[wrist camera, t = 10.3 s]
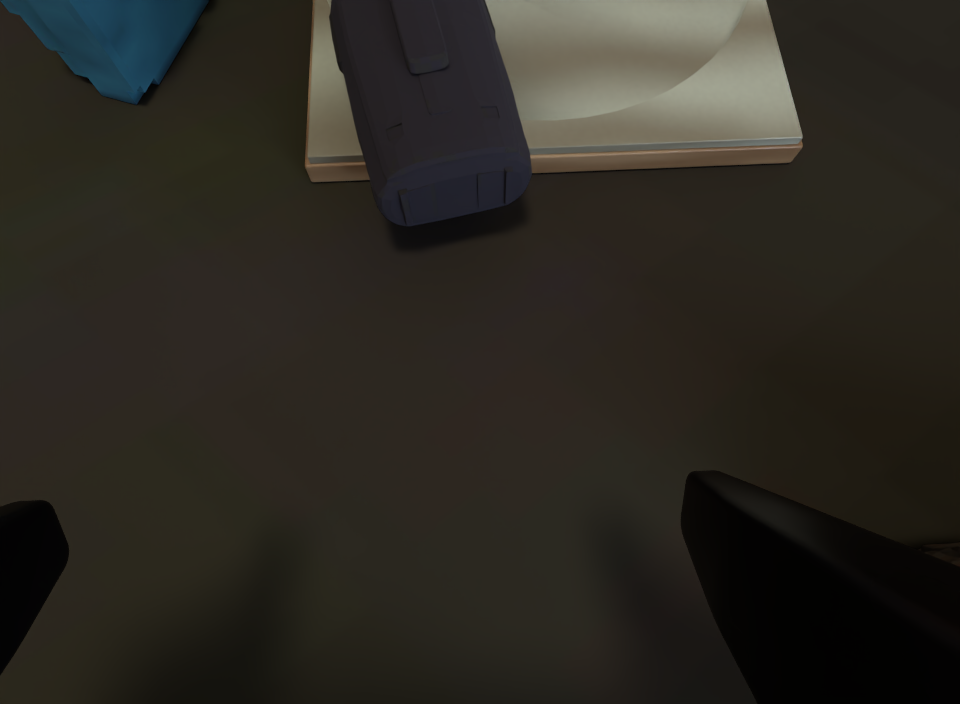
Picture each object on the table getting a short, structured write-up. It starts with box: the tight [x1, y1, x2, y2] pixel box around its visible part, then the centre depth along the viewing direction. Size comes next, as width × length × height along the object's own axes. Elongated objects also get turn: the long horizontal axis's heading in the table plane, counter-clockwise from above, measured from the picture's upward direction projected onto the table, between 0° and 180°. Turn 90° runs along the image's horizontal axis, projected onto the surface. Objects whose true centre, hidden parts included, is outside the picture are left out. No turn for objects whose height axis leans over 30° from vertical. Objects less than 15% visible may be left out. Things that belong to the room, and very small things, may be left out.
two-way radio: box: [329, 0, 532, 226], centre depth 21 cm, size 6×4×15 cm
